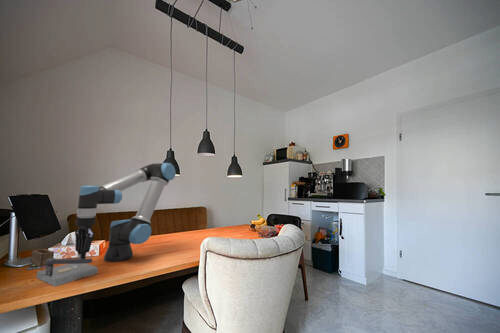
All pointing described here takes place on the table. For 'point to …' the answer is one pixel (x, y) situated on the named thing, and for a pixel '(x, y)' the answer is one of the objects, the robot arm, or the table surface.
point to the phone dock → (41, 257)
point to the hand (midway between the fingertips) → (80, 267)
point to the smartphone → (34, 267)
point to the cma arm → (67, 261)
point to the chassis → (65, 273)
